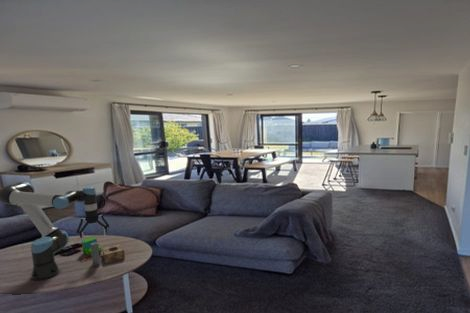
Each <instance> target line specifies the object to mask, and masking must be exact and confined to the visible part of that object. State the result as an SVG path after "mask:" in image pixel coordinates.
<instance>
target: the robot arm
mask: <svg viewBox="0 0 470 313" xmlns="http://www.w3.org/2000/svg"><path fill="white" fill-rule="evenodd" d="M77 202H79V203H81V202H82V203H84V204H83V206H84V210H85V211H84V214H85V217H84V218H83V217H81V218H80V222H79V224H78V227H77V228H76V232H75V233H76V234H79V237H80V239H82V240H83V243H84V240H85V238H84V230H85V229H86V228H87V227H88V225H89V224H95V223H97V224H99V225H100V226H101V227H103V236H104V239H106V238H107V234H106V233H108V228H109V227H110V224H109V223H108V221H106V219H105V217H104V215H103V214H100V215H99V213H98V211H99V210H98V204H97V203H98V202H97V193H96V187H94V186H85V187H83V188H82V190H67V191H66V192H65V194H56V193H55V194H53V193H42V192H35V188H34V186H33V184H31V183H30V182H25V181H22V182H21V181H20V182H16V183H12V184H9V185H6V186H3V187H1V189H0V203H2V204H5V205H9V206H10V205H13V206H14V205H15V206H18V207H21V208H22V209H23V211H24V212H25V214H26V215H27V217H28V218H29V219H30V221H31V222H32V223H33V225H34V226H35V227H36V229H37V230H38V232H39V233H40V235H41V237H40V238H37V239H35V240H33V241H32V243H31V244H30V245H31V246H30V252H31V257H32V258H31V259H32V265H33V266H32V270H31V273H30V274H31V275H30V278H31V280H32V281H38V282H39V281H44V280H48V279H50V278H53V277H54V276H57V275H58V274H59V272H60V269H59V266H58V264H57V263H56V260H55V254H56V253H58V252H59V251H60V250H62V249H64V248H65V247H66V246H67V245H68V243H69V240H70V237H69V234H68V232H66V231H65V230H61V229H60V228H59V227H57V226H56V227H55V226H54V224H53V223H52V222H51V220H50V219H49V217H48V216H47V215H46V213H45V211H43V209H42V207H43V206H44V207H45V206H46V207H54V208H55V209H57V210H61V209H65V208H66V207H68V206H70V205H73V204H74V203H77ZM41 206H42V207H41ZM99 219H102V221H103V222H104V223H103V222H102V221H100V220H99ZM84 222H85V223H84ZM83 223H84V225H83ZM82 225H83V226H82ZM82 240H81V241H82Z"/></svg>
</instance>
